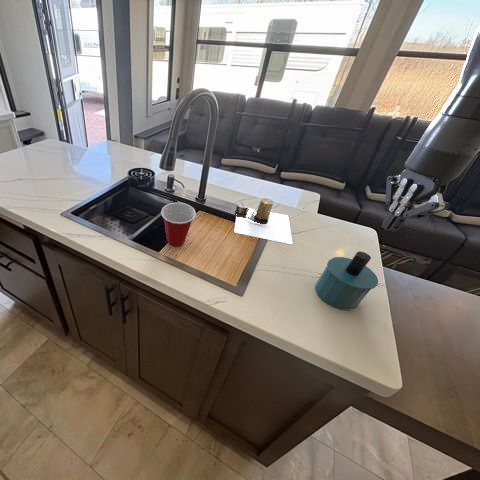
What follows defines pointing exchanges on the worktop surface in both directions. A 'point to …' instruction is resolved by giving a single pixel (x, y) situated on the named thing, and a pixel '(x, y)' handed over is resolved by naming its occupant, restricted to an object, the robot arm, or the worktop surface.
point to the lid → (353, 271)
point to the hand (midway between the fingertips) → (387, 229)
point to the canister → (338, 292)
